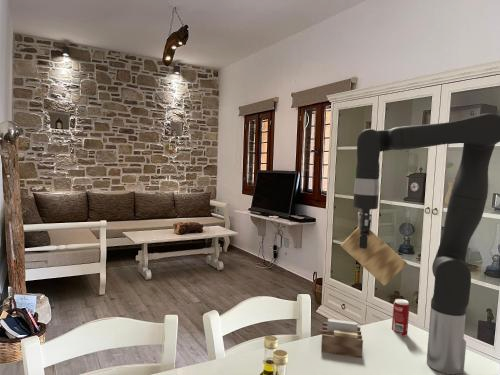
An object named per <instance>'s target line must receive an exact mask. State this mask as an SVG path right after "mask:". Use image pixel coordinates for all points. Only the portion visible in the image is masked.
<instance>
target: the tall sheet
mask: <svg viewBox="0 0 500 375" xmlns="http://www.w3.org/2000/svg"><path fill="white" fill-rule="evenodd" d="M363 231H364V232H367V230H363ZM340 247H341V248H342V249H343V250H344V251H345V252H347V253H348V254H349V255H350V256H351V257H352V258H353V259H354V260H355V261H356V262H358V263H359V265H361V266H362V267H363V268H364V269H365V270H366V271H367V272H369V274H371V275H372V276H373V277H374V278H375V279H376V280H377V281H378V282H379V283H381V284H382V285H383V286H384V287H385V286H386V285H387V284H388V283H389V282H390V281H391V280H392V279H394V277H395V276H396V275H397V274H398V273H399V272H400V271H401V270H402V269H403V268H405V267H406V266H407V265H408V263H407V261H405V260H404V259H403V258H402V257H401V256H400V255H399V254H398V253H397V252H396V251H395V250H393V249H392V248H391V247H390V246H389V245H388V244H387V243H385V242H384V241H383V240H382V239H381V238H380V237H379V236H378V235H377V234H376V233H374V232H373V231H372V230H371V229H370V231H369V236H368V238H367V248H366V249H364V248H360V228H359V227H358V226H357V228H356V229H355V230H354V231H352V233H351V234H350V235H349V236H348V237H346V239H345V240H344V241H343V242H342V243H341V244H340Z"/></svg>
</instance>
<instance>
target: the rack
mask: <svg viewBox="0 0 500 375" xmlns="http://www.w3.org/2000/svg"><path fill="white" fill-rule="evenodd" d="M327 326H328V322H324V321H323V322H322V331H321V348H320V349H321V351H320V352H321V353H324V354H331V355H339V356H345V357H351V358H356V359H357V358H358V359H363V346H364V345H363V343H364V340H363V335H362V331H361V327H360V326H357V334H358V339H354V338H347V337H340V336H334V332H333V331H327Z"/></svg>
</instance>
